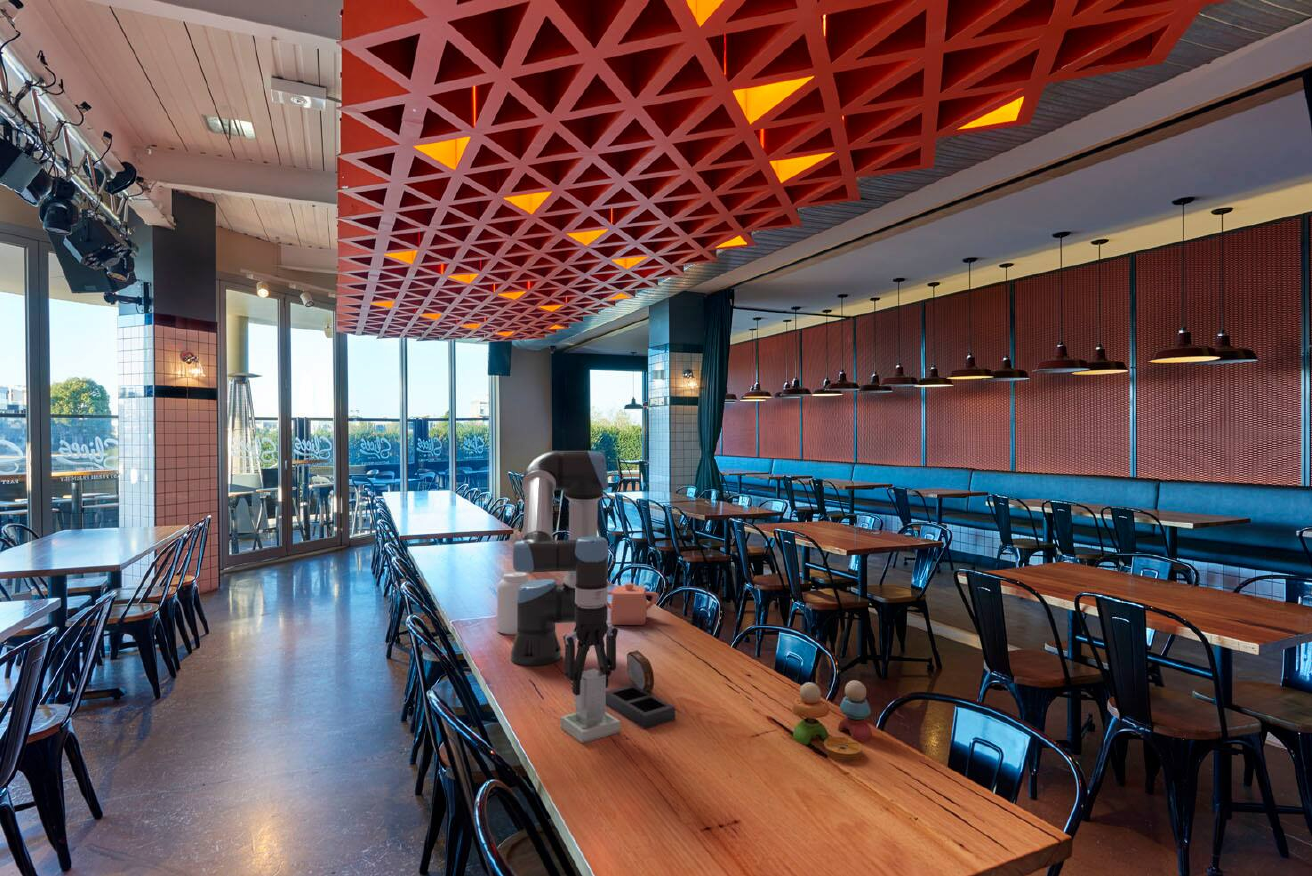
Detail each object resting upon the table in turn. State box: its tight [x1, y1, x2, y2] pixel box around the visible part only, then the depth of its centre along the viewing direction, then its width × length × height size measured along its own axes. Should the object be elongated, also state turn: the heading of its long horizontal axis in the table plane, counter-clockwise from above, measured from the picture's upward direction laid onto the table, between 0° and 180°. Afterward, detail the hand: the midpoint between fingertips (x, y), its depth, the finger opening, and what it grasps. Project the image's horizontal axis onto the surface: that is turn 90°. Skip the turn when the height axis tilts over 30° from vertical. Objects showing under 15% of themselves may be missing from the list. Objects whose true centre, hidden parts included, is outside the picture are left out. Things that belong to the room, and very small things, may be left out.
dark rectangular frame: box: [606, 683, 676, 730], centre depth 162 cm, size 18×9×3 cm, turn 36°
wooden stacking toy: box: [792, 679, 874, 763], centre depth 146 cm, size 18×17×12 cm
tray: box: [560, 711, 621, 744], centre depth 151 cm, size 10×10×2 cm
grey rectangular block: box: [575, 668, 607, 728], centre depth 151 cm, size 5×5×11 cm
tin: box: [626, 649, 655, 692], centre depth 179 cm, size 15×3×8 cm, turn 22°
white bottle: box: [496, 571, 532, 636], centre depth 230 cm, size 12×12×20 cm
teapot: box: [606, 582, 659, 626], centre depth 246 cm, size 20×22×14 cm
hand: (590, 705), depth 152 cm, fingers closed on grey rectangular block, 5 cm apart
